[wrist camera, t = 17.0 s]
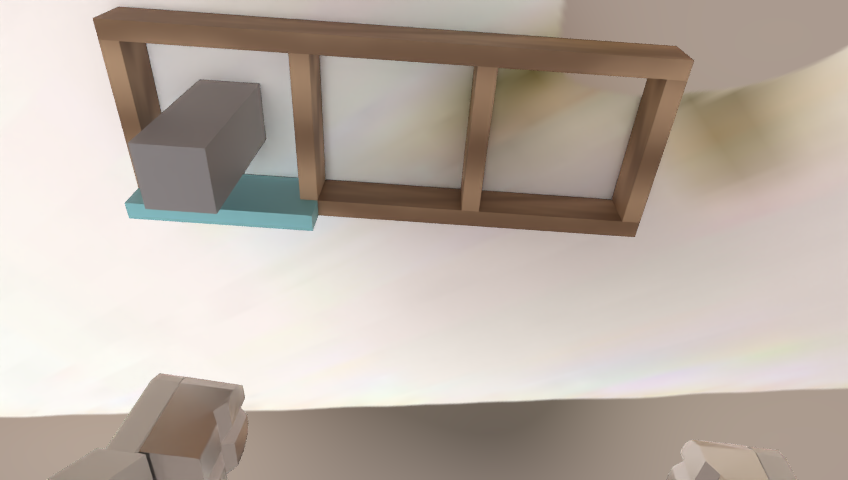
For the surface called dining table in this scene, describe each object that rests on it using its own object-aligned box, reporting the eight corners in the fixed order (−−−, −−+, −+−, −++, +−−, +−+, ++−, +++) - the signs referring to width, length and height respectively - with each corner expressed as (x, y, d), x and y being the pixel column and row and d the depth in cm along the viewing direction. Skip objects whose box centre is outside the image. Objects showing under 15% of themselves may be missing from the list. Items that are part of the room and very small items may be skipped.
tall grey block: (199, 79, 37) (127, 143, 28) (259, 83, 37) (204, 148, 28) (209, 135, 39) (145, 209, 31) (266, 139, 39) (216, 214, 31)
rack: (118, 6, 34) (73, 27, 30) (676, 46, 34) (707, 71, 30) (161, 182, 41) (129, 218, 37) (623, 214, 41) (643, 253, 37)
